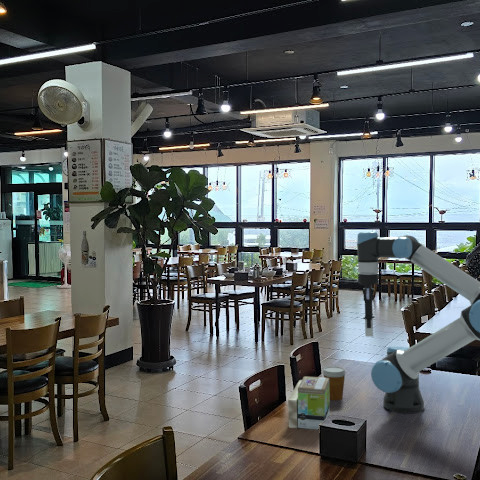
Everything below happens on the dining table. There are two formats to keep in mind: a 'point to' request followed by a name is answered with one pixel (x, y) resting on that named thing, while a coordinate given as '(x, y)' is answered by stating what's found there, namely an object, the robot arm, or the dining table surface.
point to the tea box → (313, 402)
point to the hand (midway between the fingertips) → (369, 336)
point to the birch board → (293, 407)
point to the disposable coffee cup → (335, 381)
